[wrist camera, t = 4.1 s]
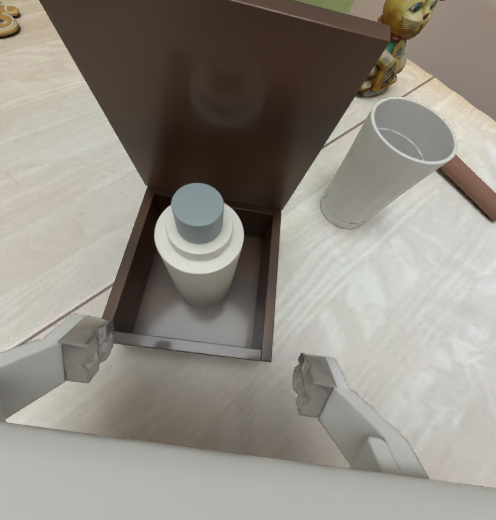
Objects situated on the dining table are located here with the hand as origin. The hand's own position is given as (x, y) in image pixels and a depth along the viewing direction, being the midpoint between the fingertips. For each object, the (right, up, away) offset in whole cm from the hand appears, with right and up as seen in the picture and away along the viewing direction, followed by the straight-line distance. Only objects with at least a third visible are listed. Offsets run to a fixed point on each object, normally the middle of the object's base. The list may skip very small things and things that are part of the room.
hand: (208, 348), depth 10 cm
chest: (-3, +1, +15) cm, 15 cm away
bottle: (-3, +2, +14) cm, 14 cm away
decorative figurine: (+22, +35, +33) cm, 53 cm away
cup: (+14, +11, +21) cm, 28 cm away
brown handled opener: (+32, +18, +27) cm, 46 cm away
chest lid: (0, +11, +4) cm, 12 cm away
